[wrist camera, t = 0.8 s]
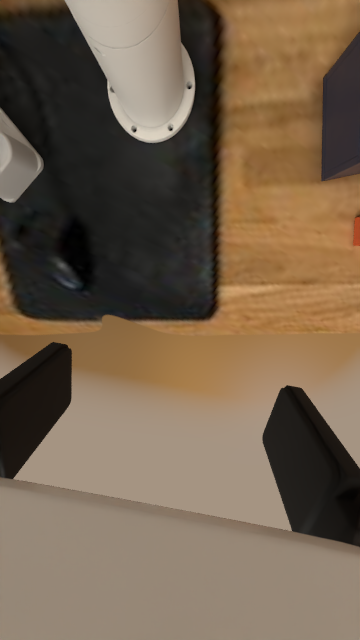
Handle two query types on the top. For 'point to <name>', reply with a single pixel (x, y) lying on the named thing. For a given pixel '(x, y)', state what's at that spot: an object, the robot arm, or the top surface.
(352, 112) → the cabinet
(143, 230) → the top surface
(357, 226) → the block
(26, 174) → the phone holder
